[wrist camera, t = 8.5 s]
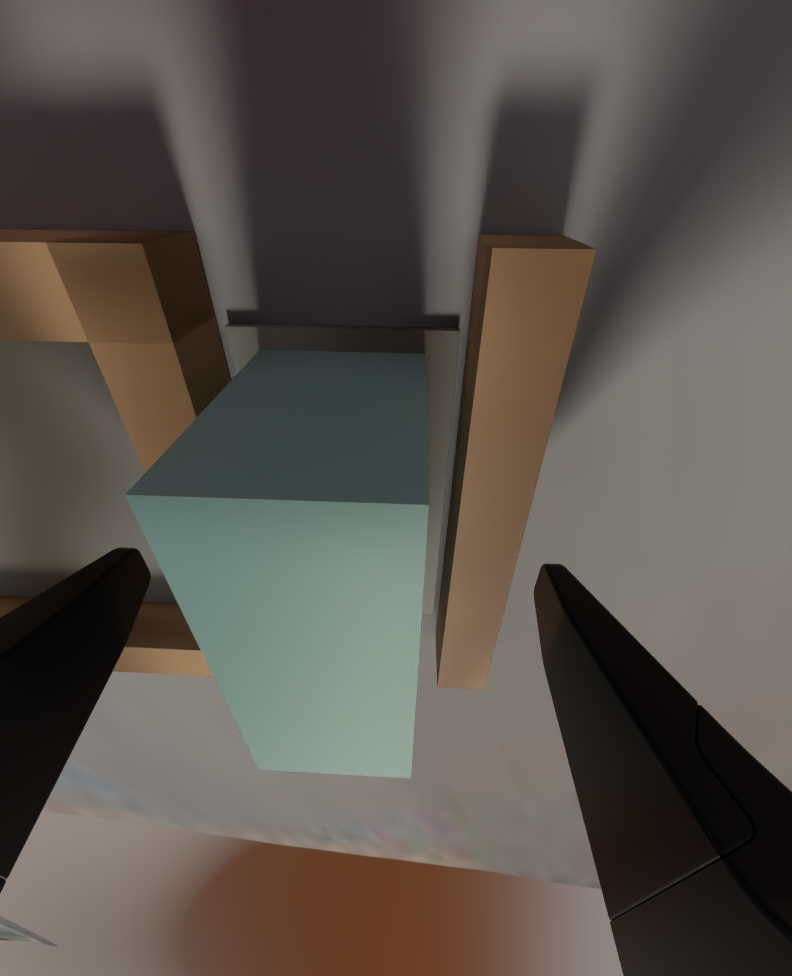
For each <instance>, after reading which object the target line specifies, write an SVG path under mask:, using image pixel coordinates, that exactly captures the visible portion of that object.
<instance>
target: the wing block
mask: <svg viewBox="0 0 792 976" xmlns="http://www.w3.org/2000/svg"><path fill="white" fill-rule="evenodd" d="M125 496H126V498H127V500H128V502H129V504H130V506H131V508H132V510H133V512H134V514H135V516H136V519H137V521H138V523H139V525H140V527H141V529H142V531H143V533H144V535H145V537H146V539H147V541H148V543H149V545H150V547H151V549H152V551H153V553H154V555H155V558H156V560H157V562H158V564H159V566H160V568H161V570H162V572H163V574H164V576H165V578H166V580H167V582H168V584H169V586H170V588H171V590H172V592H173V594H174V597H175V599H176V601H177V603H178V605H179V607H180V609H181V611H182V613H183V615H184V617H185V619H186V621H187V623H188V625H189V627H190V629H191V631H192V633H193V636H194V638H195V640H196V642H197V644H198V646H199V648H200V650H201V652H202V654H203V656H204V658H205V660H206V662H207V664H208V666H209V668H210V670H211V672H212V675H213V677H214V679H215V681H216V683H217V685H218V687H219V689H220V691H221V693H222V695H223V697H224V699H225V701H226V703H227V705H228V707H229V709H230V712H231V714H232V716H233V718H234V720H235V722H236V724H237V726H238V728H239V730H240V732H241V734H242V736H243V738H244V740H245V742H246V744H247V746H248V748H249V751H250V753H251V755H252V757H253V759H254V761H255V763H256V765H257V767H258V769H259V770H274V771H292V772H309V773H327V774H344V775H362V776H379V777H397V778H411V768H412V753H413V738H414V723H415V708H416V693H417V678H418V663H419V648H420V633H421V618H422V603H423V588H424V573H425V557H426V542H427V527H428V512H429V485H428V444H427V402H426V361H425V354H424V353H375V352H326V351H277V350H259V351H258V352H257V353H256V354H255V355H254V356H253V358H252V359H251V360H250V361H249V362H248V363H247V364H246V365H245V366H244V367H243V368H242V369H241V370H240V372H239V373H238V374H237V375H236V376H235V377H234V378H233V379H232V380H231V381H230V382H229V383H228V384H227V386H226V387H225V388H224V389H223V390H222V391H221V392H220V393H219V394H218V395H217V396H216V397H215V398H214V400H213V401H212V402H211V403H210V404H209V405H208V406H207V407H206V408H205V409H204V410H203V411H202V412H201V413H200V415H199V416H198V417H197V418H196V419H195V420H194V421H193V422H192V423H191V424H190V425H189V426H188V427H187V429H186V430H185V431H184V432H183V433H182V434H181V435H180V436H179V437H178V438H177V439H176V440H175V441H174V443H173V444H172V445H171V446H170V447H169V448H168V449H167V450H166V451H165V452H164V453H163V454H162V455H161V457H160V458H159V459H158V460H157V461H156V462H155V463H154V464H153V465H152V466H151V467H150V468H149V469H148V471H147V472H146V473H145V474H144V475H143V476H142V477H141V478H140V479H139V480H138V481H137V482H136V483H135V484H134V486H133V487H132V488H131V489H130V490H129V491H128V492H127V493H126V494H125Z"/></svg>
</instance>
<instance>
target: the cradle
mask: <svg viewBox="0 0 792 976" xmlns="http://www.w3.org/2000/svg"><path fill="white" fill-rule="evenodd" d="M596 250H597V249H595V248H592V247H590V246H587V245H585V244H583V243H580V242H578V241H575V240H573V239H571V238H568V237H566V236H563V235H489V234H479V238H478V247H477V257H476V266H475V276H474V285H473V294H472V304H471V313H470V322H469V332H468V341H467V351H466V360H465V369H464V379H463V388H462V397H461V407H460V416H459V426H458V435H457V444H456V454H455V463H454V472H453V482H452V491H451V501H450V510H449V519H448V529H447V538H446V548H445V557H444V566H443V576H442V585H441V594H440V604H439V613H438V623H437V632H436V660H437V687H440V688H460V689H480V690H484V686H485V683H486V679H487V675H488V671H489V667H490V663H491V659H492V655H493V651H494V647H495V644H496V640H497V636H498V632H499V628H500V624H501V620H502V616H503V612H504V609H505V605H506V601H507V597H508V593H509V589H510V585H511V581H512V577H513V573H514V570H515V566H516V562H517V558H518V554H519V550H520V546H521V542H522V538H523V535H524V531H525V527H526V523H527V519H528V515H529V511H530V507H531V503H532V499H533V496H534V492H535V488H536V484H537V480H538V476H539V472H540V468H541V464H542V460H543V457H544V453H545V449H546V445H547V441H548V437H549V433H550V429H551V425H552V422H553V418H554V414H555V410H556V406H557V402H558V398H559V394H560V390H561V386H562V383H563V379H564V375H565V371H566V367H567V363H568V359H569V355H570V351H571V347H572V344H573V340H574V336H575V332H576V328H577V324H578V320H579V316H580V312H581V309H582V305H583V301H584V297H585V293H586V289H587V285H588V281H589V277H590V273H591V270H592V266H593V262H594V258H595V254H596ZM225 330H226V334H227V339H228V343H229V347H230V352H231V356H232V360H233V364H234V369H235V373H236V375H237V374H238V373H239V372H240V370H241V369H242V368H243V367H244V366H245V365H246V364H247V363H248V362H249V361H250V360H251V359H252V358H253V356H254V355H255V354H256V353H257V352H258V351H259V350H277V351H326V352H375V353H424V354H425V361H426V402H427V444H428V485H429V512H428V527H427V542H426V557H425V573H424V588H423V603H422V614H433V610H434V599H435V588H436V578H437V567H438V557H439V546H440V535H441V525H442V514H443V504H444V493H445V482H446V472H447V461H448V451H449V440H450V429H451V419H452V408H453V398H454V387H455V376H456V366H457V355H458V345H459V334H460V330H459V328H425V327H373V326H321V325H269V324H227V325H226V326H225ZM229 382H230V377H229V373H228V369H227V365H226V361H225V356H224V352H223V348H222V344H221V340H220V336H219V332H218V328H217V324H216V319H215V315H214V311H213V307H212V303H211V299H210V295H209V291H208V287H207V283H206V278H205V274H204V270H203V266H202V262H201V258H200V254H199V250H198V246H197V242H196V237H195V233H194V231H135V230H47V229H0V617H2V616H4V615H5V614H7V613H9V612H10V611H12V610H14V609H15V608H17V607H19V606H20V605H22V604H24V603H25V602H27V601H29V600H30V599H32V598H34V597H35V596H37V595H39V594H40V593H42V592H44V591H45V590H47V589H49V588H50V587H52V586H54V585H55V584H57V583H58V582H60V581H62V580H63V579H65V578H67V577H68V576H70V575H72V574H73V573H75V572H77V571H78V570H80V569H82V568H83V567H85V566H87V565H88V564H90V563H92V562H93V561H95V560H97V559H98V558H100V557H102V556H103V555H105V554H107V553H108V552H110V551H112V550H113V549H115V548H119V547H126V548H136V549H138V550H139V551H140V553H141V555H142V556H143V558H144V560H145V562H146V564H147V566H148V568H149V570H150V573H151V580H150V584H149V587H148V589H147V592H146V595H145V597H144V600H143V602H142V605H141V608H140V610H139V613H138V615H137V618H136V621H135V623H134V626H133V628H132V631H131V634H130V636H129V638H128V641H127V643H126V645H125V647H124V650H123V652H122V654H121V656H120V658H119V660H118V662H117V664H116V666H115V668H114V670H113V671H118V672H138V673H159V674H179V675H199V676H213V675H212V672H211V670H210V668H209V666H208V664H207V662H206V660H205V658H204V656H203V654H202V652H201V650H200V648H199V646H198V644H197V642H196V640H195V638H194V636H193V633H192V631H191V629H190V627H189V625H188V623H187V621H186V619H185V617H184V615H183V613H182V611H181V609H180V607H179V605H178V603H177V601H176V599H175V597H174V594H173V592H172V590H171V588H170V586H169V584H168V582H167V580H166V578H165V576H164V574H163V572H162V570H161V568H160V566H159V564H158V562H157V560H156V558H155V555H154V553H153V551H152V549H151V547H150V545H149V543H148V541H147V539H146V537H145V535H144V533H143V531H142V529H141V527H140V525H139V523H138V521H137V519H136V516H135V514H134V512H133V510H132V508H131V506H130V504H129V502H128V500H127V498H126V496H125V494H126V493H127V492H128V491H129V490H130V489H131V488H132V487H133V486H134V484H135V483H136V482H137V481H138V480H139V479H140V478H141V477H142V476H143V475H144V474H145V473H146V472H147V471H148V469H149V468H150V467H151V466H152V465H153V464H154V463H155V462H156V461H157V460H158V459H159V458H160V457H161V455H162V454H163V453H164V452H165V451H166V450H167V449H168V448H169V447H170V446H171V445H172V444H173V443H174V441H175V440H176V439H177V438H178V437H179V436H180V435H181V434H182V433H183V432H184V431H185V430H186V429H187V427H188V426H189V425H190V424H191V423H192V422H193V421H194V420H195V419H196V418H197V417H198V416H199V415H200V413H201V412H202V411H203V410H204V409H205V408H206V407H207V406H208V405H209V404H210V403H211V402H212V401H213V400H214V398H215V397H216V396H217V395H218V394H219V393H220V392H221V391H222V390H223V389H224V388H225V387H226V386H227V384H228V383H229Z"/></svg>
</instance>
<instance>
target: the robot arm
mask: <svg viewBox="0 0 792 976" xmlns="http://www.w3.org/2000/svg"><path fill="white" fill-rule="evenodd" d="M150 580H151V573H150V570H149V568H148V566H147V564H146V562H145V560H144V558H143V556H142V555H141V553H140V551H139V550H138V549H136V548H126V547H119V548H115V549H113V550H112V551H110V552H108V553H107V554H105V555H103V556H102V557H100V558H98V559H97V560H95V561H93V562H92V563H90V564H88V565H87V566H85V567H83V568H82V569H80V570H78V571H77V572H75V573H73V574H72V575H70V576H68V577H67V578H65V579H63V580H62V581H60V582H58V583H57V584H55V585H54V586H52V587H50V588H49V589H47V590H45V591H44V592H42V593H40V594H39V595H37V596H35V597H34V598H32V599H30V600H29V601H27V602H25V603H24V604H22V605H20V606H19V607H17V608H15V609H14V610H12V611H10V612H9V613H7V614H5V615H4V616H2V617H0V893H1V891H2V889H3V887H4V885H5V883H6V880H5V879H7V878H8V876H9V874H10V872H11V870H12V868H13V866H14V864H15V862H16V861H17V859H18V857H19V855H20V853H21V850H22V848H23V847H24V845H25V843H26V841H27V839H28V837H29V835H30V833H31V831H32V829H33V827H34V825H35V823H36V821H37V819H38V817H39V815H40V813H41V811H42V809H43V807H44V805H45V803H46V801H47V799H48V798H49V796H50V794H51V792H52V790H53V788H54V786H55V784H56V782H57V780H58V778H59V776H60V774H61V772H62V770H63V768H64V766H65V764H66V762H67V760H68V758H69V756H70V754H71V752H72V750H73V748H74V746H75V744H76V742H77V740H78V738H79V736H80V735H81V733H82V731H83V729H84V727H85V725H86V723H87V721H88V719H89V717H90V715H91V713H92V711H93V709H94V707H95V705H96V703H97V701H98V699H99V697H100V695H101V693H102V691H103V689H104V687H105V685H106V683H107V681H108V679H109V677H110V675H111V674H112V672H113V670H114V668H115V666H116V664H117V662H118V660H119V658H120V656H121V654H122V652H123V650H124V647H125V645H126V643H127V641H128V638H129V636H130V634H131V631H132V628H133V626H134V623H135V621H136V618H137V615H138V613H139V610H140V608H141V605H142V602H143V600H144V597H145V595H146V592H147V589H148V587H149V584H150ZM534 601H535V608H536V615H537V623H538V630H539V637H540V644H541V651H542V658H543V664H544V668H545V673H546V677H547V681H548V684H549V688H550V692H551V696H552V700H553V704H554V708H555V711H556V715H557V719H558V723H559V727H560V731H561V735H562V738H563V742H564V746H565V750H566V754H567V758H568V762H569V765H570V769H571V773H572V777H573V781H574V785H575V789H576V793H577V796H578V800H579V804H580V808H581V812H582V816H583V820H584V823H585V827H586V831H587V835H588V839H589V843H590V847H591V850H592V854H593V858H594V862H595V866H596V870H597V874H598V877H599V881H600V885H601V889H602V893H603V897H604V900H605V904H606V908H607V912H608V915H609V919H610V920H612V921H611V922H610V924H611V929H612V932H613V936H614V940H615V944H616V948H617V952H618V955H619V960H620V963H621V967H622V971H623V975H624V976H792V792H791V791H790V790H789V789H788V788H787V787H786V786H785V785H784V784H782V783H781V782H780V781H779V780H778V779H777V778H776V777H775V776H774V775H773V774H772V773H770V772H769V771H768V770H767V769H766V768H765V767H764V766H763V765H762V764H761V763H760V762H759V761H757V760H756V759H755V758H754V757H753V756H752V755H751V754H750V753H749V752H748V751H747V750H746V749H745V748H744V747H743V746H742V745H741V744H740V743H739V742H738V741H737V740H735V739H734V738H733V737H732V736H731V735H730V734H729V733H728V732H727V731H726V730H725V729H724V728H723V727H722V726H721V725H720V724H719V723H718V722H717V721H716V720H715V719H714V718H713V717H712V716H711V715H710V714H709V713H708V712H707V711H706V710H705V709H704V708H703V707H702V706H701V705H698V703H697V701H696V700H695V699H694V698H693V697H692V696H691V695H690V694H689V693H688V691H687V690H686V689H685V688H684V687H683V686H682V685H681V684H680V683H679V682H678V681H677V680H676V679H675V678H674V677H673V676H672V675H671V674H670V673H669V672H668V671H667V670H666V669H665V668H664V667H663V666H662V665H661V664H660V663H659V662H658V661H657V660H656V659H655V658H654V657H653V656H652V655H651V654H650V653H649V652H648V651H647V650H646V649H645V648H644V647H643V646H642V645H641V644H640V643H639V642H638V641H637V640H636V639H635V638H634V637H633V636H632V635H631V634H630V633H629V632H628V631H627V629H626V628H625V627H624V626H623V625H622V624H621V623H620V622H619V621H618V620H617V619H616V618H615V617H614V616H613V615H612V614H611V613H610V612H609V611H608V610H607V609H606V608H605V607H604V606H603V605H602V604H601V603H600V602H599V601H598V600H597V599H596V598H595V597H594V596H593V595H592V594H591V593H590V592H589V591H588V590H587V589H586V588H585V587H584V586H583V585H582V584H581V583H580V582H579V581H578V580H577V579H576V578H575V577H574V576H573V575H572V574H571V573H570V572H569V571H568V570H567V568H566V567H564V566H563V565H561V564H543V565H542V567H541V569H540V572H539V575H538V578H537V582H536V585H535V588H534Z"/></svg>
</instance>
